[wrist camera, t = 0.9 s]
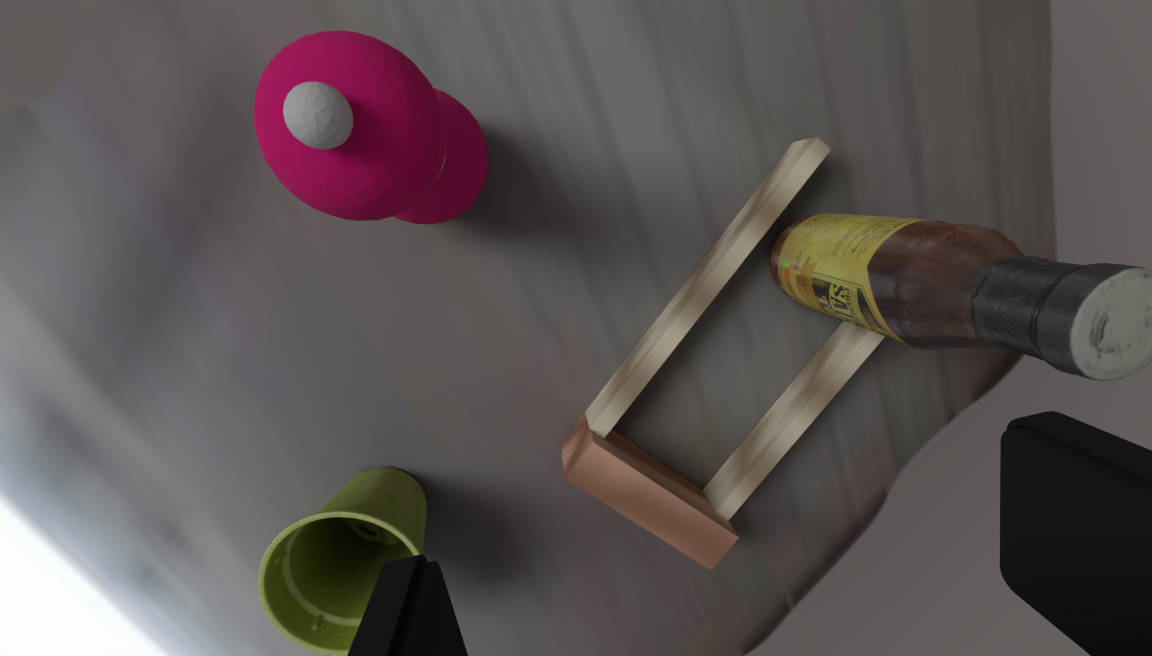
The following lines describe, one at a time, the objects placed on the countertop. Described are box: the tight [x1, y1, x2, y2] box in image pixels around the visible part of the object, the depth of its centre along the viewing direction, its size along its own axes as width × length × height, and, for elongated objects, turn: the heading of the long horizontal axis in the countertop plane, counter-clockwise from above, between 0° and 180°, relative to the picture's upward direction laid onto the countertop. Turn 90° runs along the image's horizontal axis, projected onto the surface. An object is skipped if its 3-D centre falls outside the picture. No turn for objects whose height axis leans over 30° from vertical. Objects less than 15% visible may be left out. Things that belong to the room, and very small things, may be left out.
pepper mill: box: [254, 31, 489, 224], centre depth 24 cm, size 7×7×20 cm
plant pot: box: [258, 467, 427, 656], centre depth 34 cm, size 9×9×9 cm
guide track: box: [561, 137, 885, 570], centre depth 36 cm, size 26×12×5 cm, turn 143°
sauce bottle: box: [770, 213, 1152, 381], centre depth 27 cm, size 7×6×20 cm
